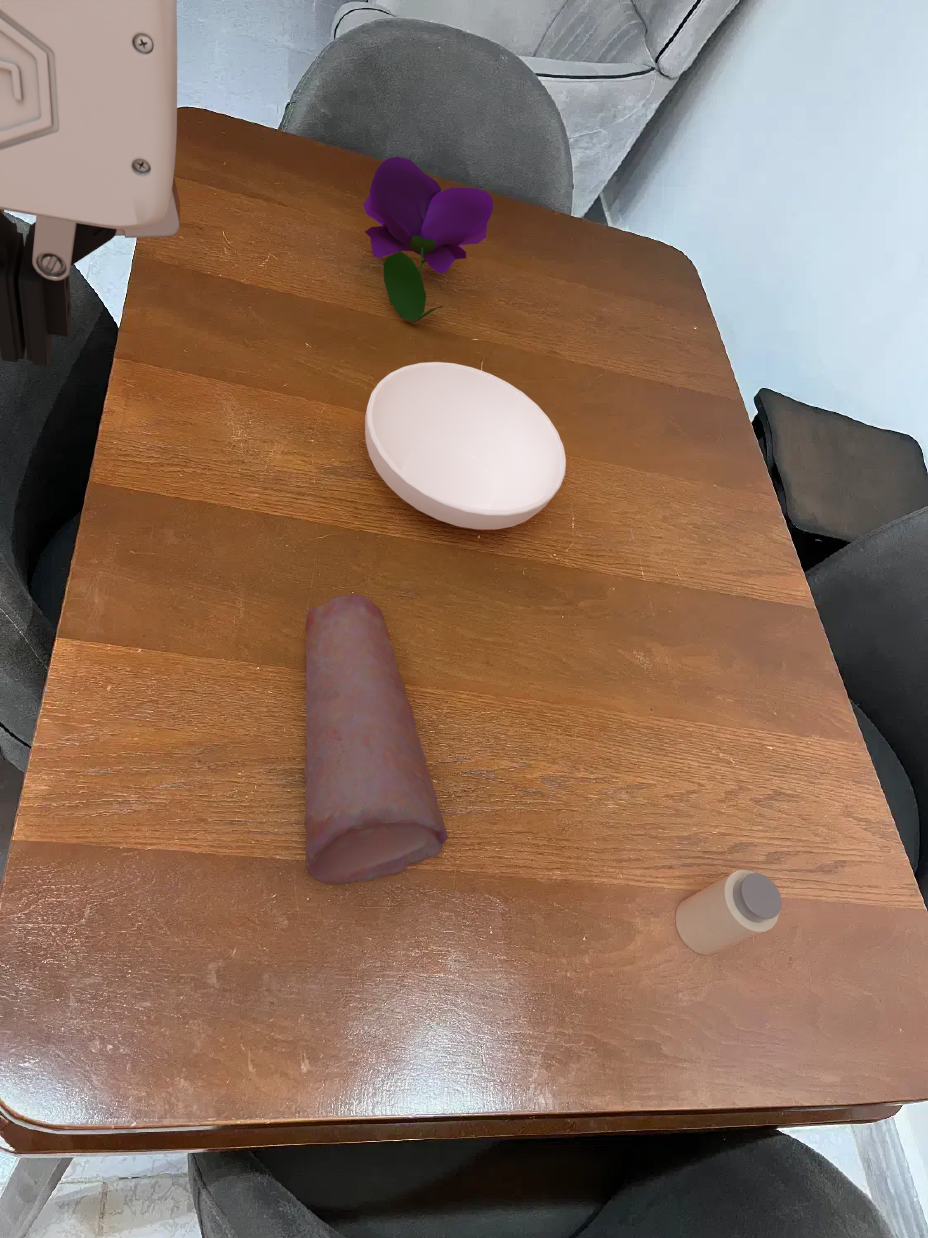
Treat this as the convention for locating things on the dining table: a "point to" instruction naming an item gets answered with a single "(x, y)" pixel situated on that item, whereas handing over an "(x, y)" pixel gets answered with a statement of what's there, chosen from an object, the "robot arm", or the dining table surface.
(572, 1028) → the dining table surface
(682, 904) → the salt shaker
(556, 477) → the bowl
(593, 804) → the dining table surface
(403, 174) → the flower
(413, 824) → the brown tapered cylinder
